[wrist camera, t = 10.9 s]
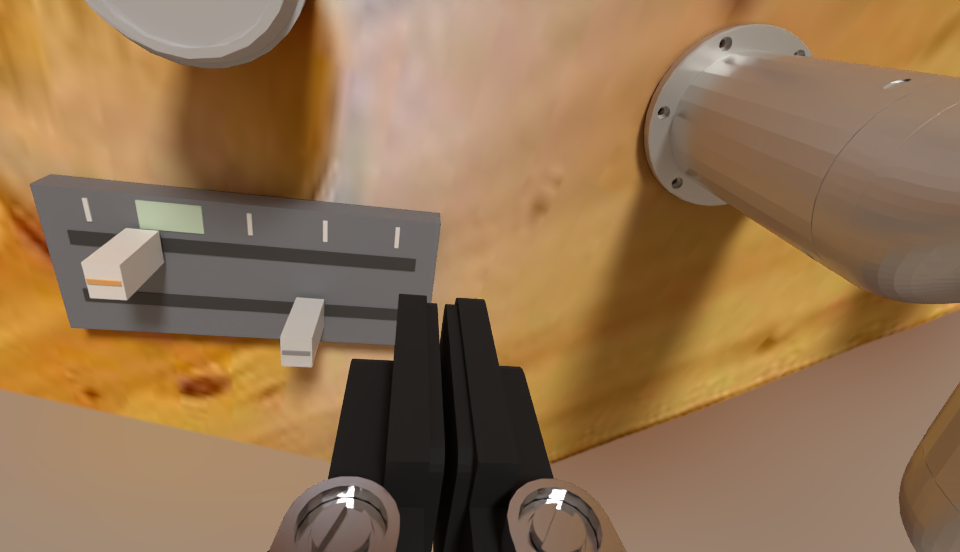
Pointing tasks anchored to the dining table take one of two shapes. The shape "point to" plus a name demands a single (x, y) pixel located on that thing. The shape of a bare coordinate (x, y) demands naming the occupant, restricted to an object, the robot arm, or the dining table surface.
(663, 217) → the dining table surface
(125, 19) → the disposable coffee cup
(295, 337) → the fader
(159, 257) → the fader
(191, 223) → the console
